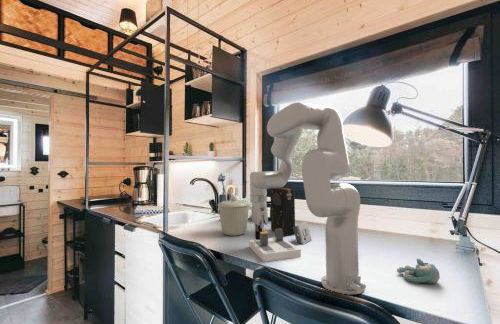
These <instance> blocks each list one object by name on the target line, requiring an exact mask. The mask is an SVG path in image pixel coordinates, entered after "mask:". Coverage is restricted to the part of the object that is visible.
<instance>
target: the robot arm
mask: <svg viewBox="0 0 500 324" xmlns="http://www.w3.org/2000/svg"><path fill="white" fill-rule="evenodd" d="M343 123H344V122H343V118H342V115H341V113H340V112H339V110H338V109H336V108H334V107H331V106H325V105H321V104H320V105H319V104H314V103H313V104H311V103H306V102H293V103H290V104H289V105H287V106H285V107H283V108H282V109H280V110H279V111H277V112H275V113H274V114H273V115H271V117H270V118H269V120H268V122H267V126H266V131H267V134H268V135H269V136H270V137H272V138H275V139H274V141H273V143H272V145H271V148H270V152H271V154H272V155H273V156H274V157H276V158H277V159H279V160H281V163H280V166H279V168H278V170H273V171H271V170H269V171H252V172H250V174H249V191H250V193H249V194H250V195H249V198H250V199H249V200H250V204H251V221H252V223H254V234H255V235H254V237H255V239H254V240H260V232H264V229H265V226H266V225H268V224H269V218H268V217H269V216H268V206H267V201H268V197H267V195H268V193H267V192H268V191H267V190H270V189H271V188H284V186H285V185H286V184H287V183H288V181H289V180H290V177H291V175H292V172H293V161H292V157H291V156H292V154H293V152H294V150H295V148H296V145H297V144H298V142H299V140H300V138H301V135H302V133H303V131H304V130H316V131H317V130H318V132H317V136H316V137H317V138H316V144H317V148H314V149H310V150H308V151H307V152H306V154H304V156H303V158H302V161H301V176H302V181H303V183H302V184H303V189H304V190H303V191H304V195H305V201H306V205H307V209H309V210H308V211H310V213H311V214H312V215H314V216H315V217H317V218H326V222H325V232H324V233H325V270H326V271H325V275H324V276H322V278H321V282H320V283H321V285H322V286H323V288H325V289H326V290H327V289H328V290H327V291H329V290H331V291H330V292H332V291H335V292H338V293H342V294H341V295H344V294H347V296H348V295H349V296H352V295H353V296H354V295H358V294H362V292H364V291H365V289H366V288H367V285H366V284H365V283H364V282H363V281H362V278H361V277H362V276H361V275H360V269H359V267H360V266H359V264H360V263H359V213H360V208H361V196H360V193H359V190H357V188H356V187H354V186H353V185H351V184H350V183H345V182H343V183H342V182H338V183H331V180H339V179H344V177H346V176H348V174H349V172H350V161H349V155H348V149H347V145H346V140H345V135H344V134H345V133H344V125H343ZM338 293H337V294H338Z"/></svg>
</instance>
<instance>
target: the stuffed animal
mask: <svg viewBox="0 0 500 324" xmlns="http://www.w3.org/2000/svg"><path fill="white" fill-rule="evenodd" d="M416 263H417V264H415V267H413V266H410V265H407V264H406V265H405V266H404V267H401V266H399V267H398V268H397V269H396V272H397V273H398V274H402V273H404V274H402V276H403V278H404V279H405V280H407V281H409V282H411V283H414V284H421V283H426V284H436V283H438V282H439V280H440V279H441V278H440V271H439V269H438V268H437V267H436V266H435V265H434V264H433V263H431V264H430V263H428V262H424V261H423V260H422V259H421V258H416ZM411 276H412V277H411ZM413 276H414V277H413Z"/></svg>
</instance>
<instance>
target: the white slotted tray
mask: <svg viewBox="0 0 500 324" xmlns="http://www.w3.org/2000/svg"><path fill="white" fill-rule="evenodd" d="M248 245H249V249H251V250H252V251H253V252H254V253H255V254H256V255H257V257H259V259H260V260H262V261H263V263H265V262H271V261H272V262H274V261H280V260H287V259H296V258H301V257H302V251H301V250H302V249H301V248H299V247H297V245H294V244H292V243H291V242H290V241H288V240H286V239H285V238H283V240H282V241H276V240H275V237H270V238H269V237H268V245H266V246H261V245H260V240H256V239H252V240H251V239H249V243H248Z"/></svg>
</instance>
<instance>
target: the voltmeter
mask: <svg viewBox="0 0 500 324" xmlns="http://www.w3.org/2000/svg"><path fill="white" fill-rule="evenodd" d="M269 190H270V192H269V193H270V194H269V195H270V229H271V232H274V233H275V229H279V228H281V229H283V237H287V236H292V235H293V236H294V235H295V234H294V230H293V227H295V226H296V212H295V211H296V208H295V207H296V204H295V203H296V202H295V201H296V199H295V195H296V194H295V189H292V188H286V187H285V188H284V187H281V188H271V189H269Z"/></svg>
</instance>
